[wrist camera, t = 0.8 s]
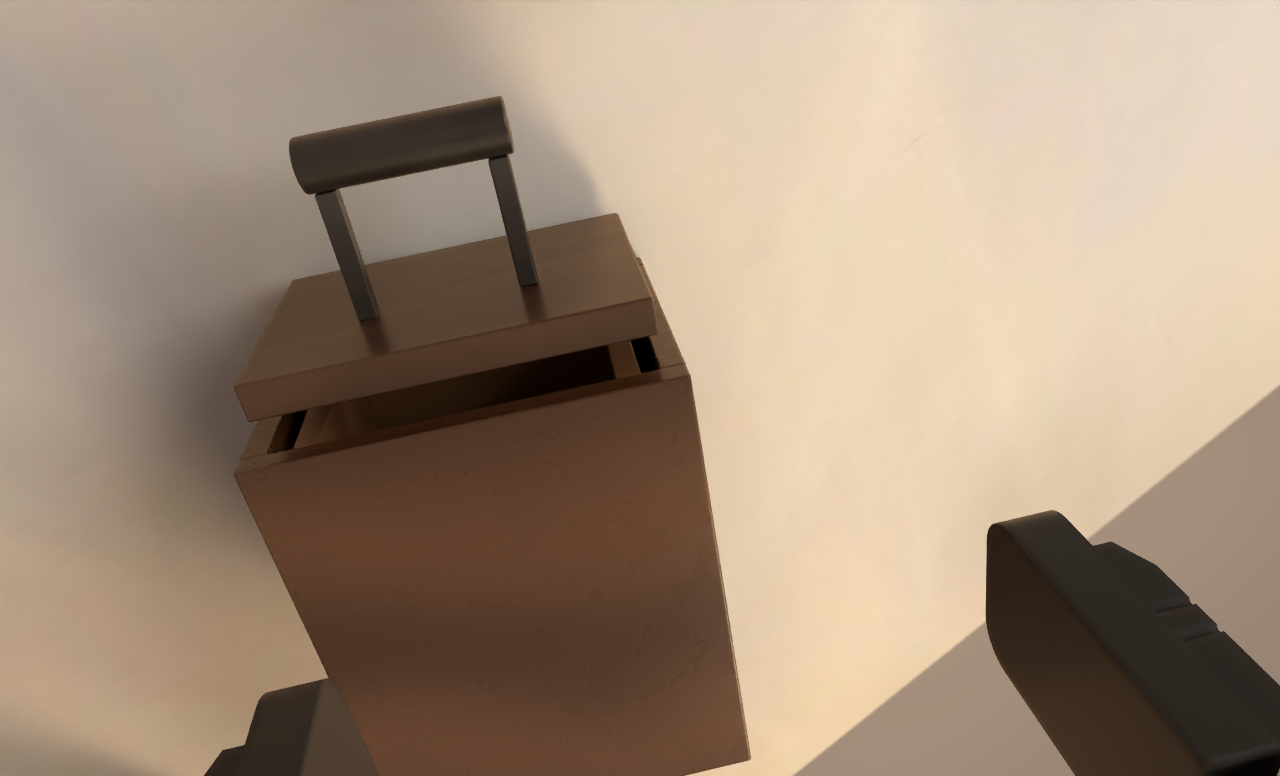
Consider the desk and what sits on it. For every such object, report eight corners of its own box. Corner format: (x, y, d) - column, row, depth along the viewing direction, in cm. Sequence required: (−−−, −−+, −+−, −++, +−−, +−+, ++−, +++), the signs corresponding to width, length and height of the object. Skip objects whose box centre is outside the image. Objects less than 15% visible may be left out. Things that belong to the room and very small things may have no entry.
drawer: (231, 122, 29) (144, 190, 22) (587, 50, 30) (618, 94, 23) (415, 603, 39) (397, 759, 32) (679, 544, 40) (720, 684, 33)
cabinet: (300, 328, 34) (232, 474, 25) (640, 256, 34) (690, 375, 26) (424, 646, 42) (405, 843, 33) (697, 584, 42) (751, 760, 34)
